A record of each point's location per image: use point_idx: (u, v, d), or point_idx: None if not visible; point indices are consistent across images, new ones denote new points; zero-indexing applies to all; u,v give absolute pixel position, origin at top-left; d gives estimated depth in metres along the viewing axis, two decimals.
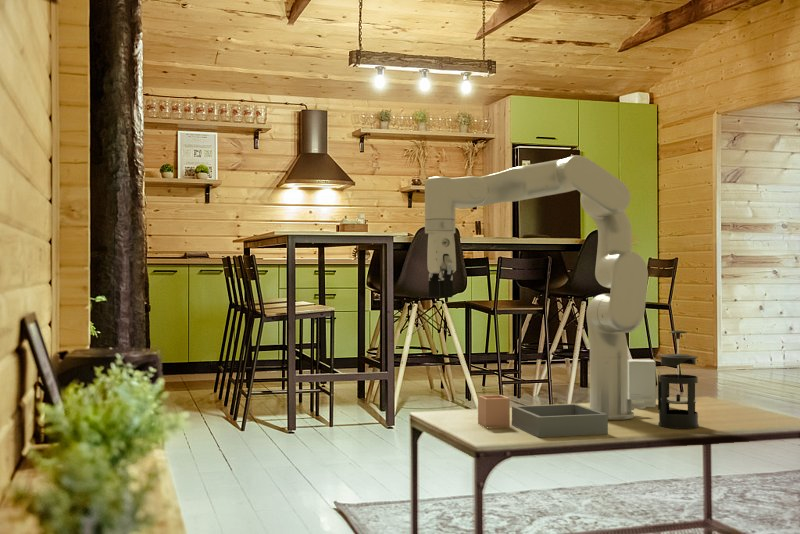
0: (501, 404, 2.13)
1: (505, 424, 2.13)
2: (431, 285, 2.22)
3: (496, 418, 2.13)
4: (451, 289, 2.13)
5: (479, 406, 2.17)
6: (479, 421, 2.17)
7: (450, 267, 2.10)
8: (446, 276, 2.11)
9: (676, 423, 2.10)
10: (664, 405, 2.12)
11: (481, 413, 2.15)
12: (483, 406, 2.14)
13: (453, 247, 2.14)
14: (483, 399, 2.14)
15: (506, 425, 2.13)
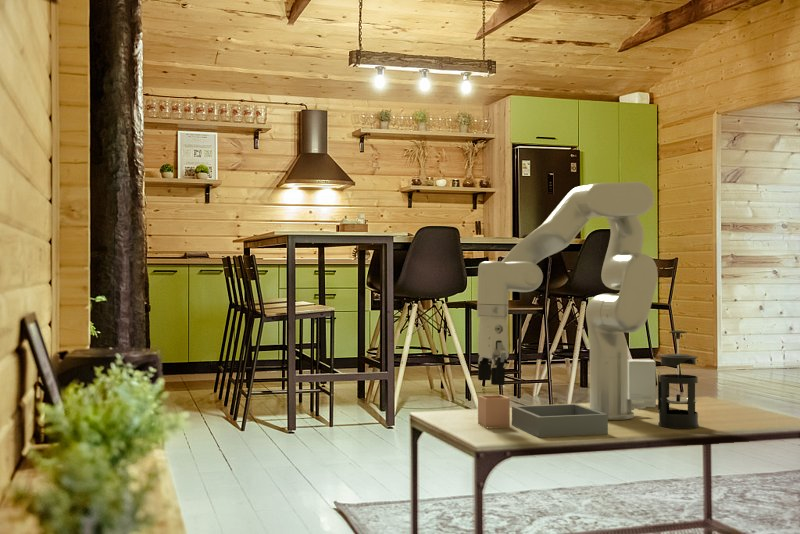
0: (501, 404, 2.13)
1: (505, 424, 2.13)
2: (481, 369, 2.20)
3: (496, 418, 2.13)
4: (503, 376, 2.11)
5: (479, 406, 2.17)
6: (479, 421, 2.17)
7: (503, 355, 2.07)
8: (499, 364, 2.09)
9: (676, 423, 2.10)
10: (664, 405, 2.12)
11: (481, 413, 2.15)
12: (483, 406, 2.14)
13: (506, 334, 2.11)
14: (483, 399, 2.14)
15: (506, 425, 2.13)
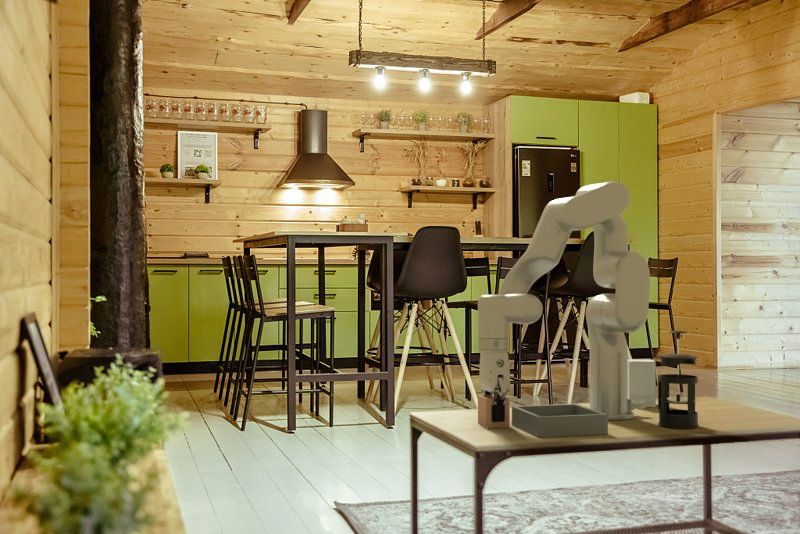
0: None
1: (505, 424, 2.13)
2: None
3: None
4: (503, 413, 2.12)
5: (478, 406, 2.17)
6: (479, 421, 2.17)
7: (504, 395, 2.09)
8: (499, 401, 2.10)
9: (676, 423, 2.10)
10: (664, 405, 2.12)
11: (481, 413, 2.15)
12: (483, 406, 2.14)
13: (507, 367, 2.11)
14: (483, 399, 2.14)
15: (506, 425, 2.13)
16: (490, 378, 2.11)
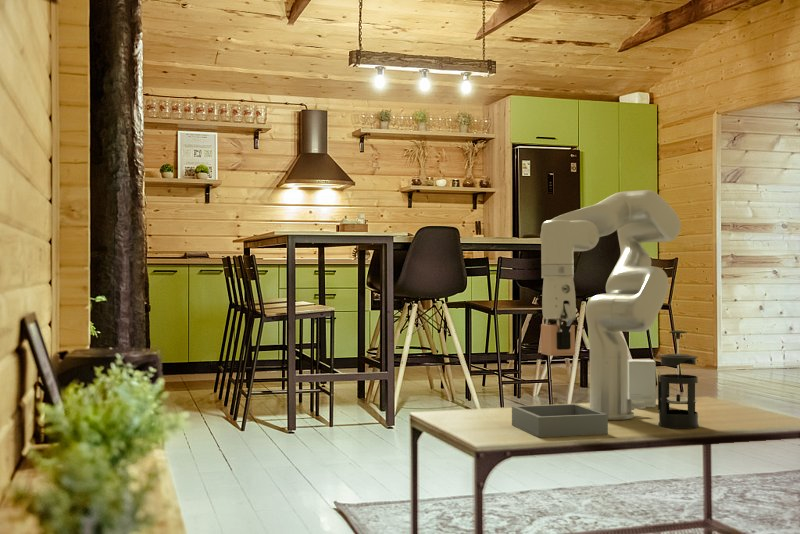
0: None
1: (570, 352, 2.08)
2: None
3: None
4: (569, 341, 2.07)
5: (542, 335, 2.12)
6: (542, 350, 2.11)
7: (570, 321, 2.03)
8: (565, 328, 2.05)
9: (676, 423, 2.10)
10: (664, 405, 2.12)
11: (545, 341, 2.10)
12: (547, 334, 2.08)
13: (573, 293, 2.06)
14: (547, 326, 2.08)
15: (571, 353, 2.08)
16: (555, 304, 2.06)
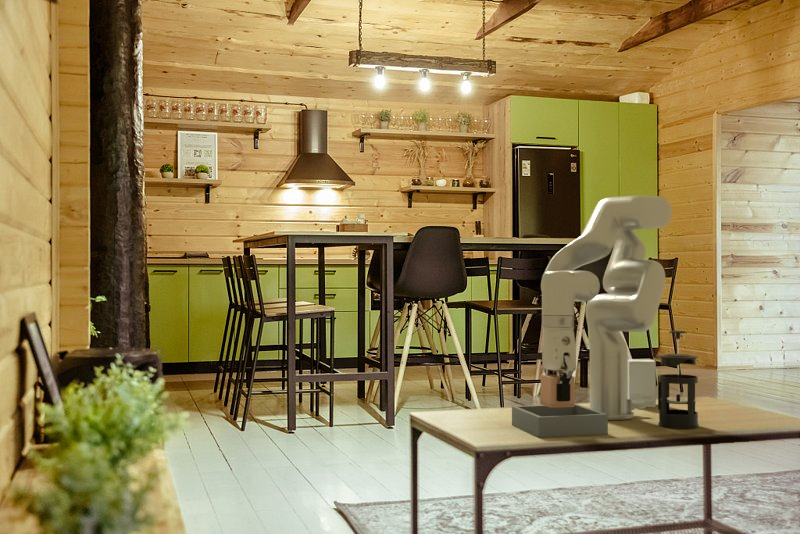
0: None
1: (570, 403, 2.07)
2: None
3: None
4: (569, 392, 2.06)
5: (541, 385, 2.11)
6: (542, 401, 2.11)
7: (570, 373, 2.03)
8: (565, 380, 2.04)
9: (676, 423, 2.10)
10: (664, 405, 2.12)
11: (544, 392, 2.09)
12: (547, 385, 2.08)
13: (573, 345, 2.06)
14: (547, 378, 2.08)
15: (571, 404, 2.07)
16: (556, 356, 2.05)
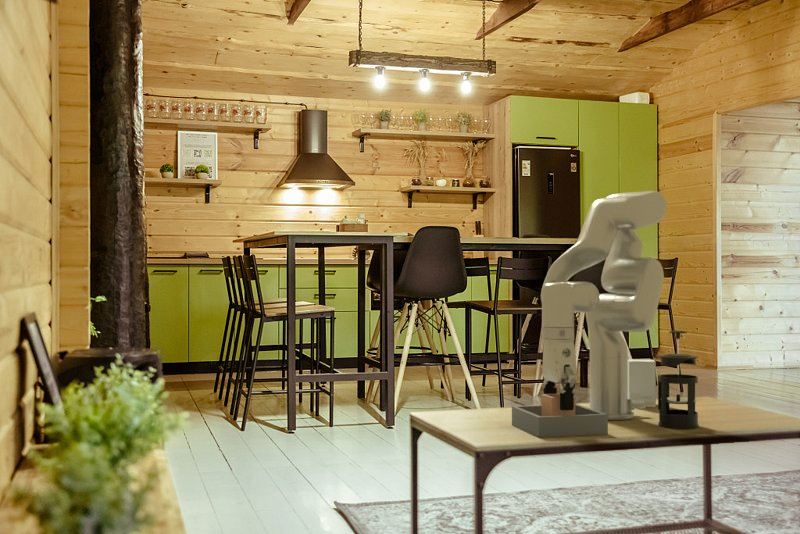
0: None
1: None
2: (546, 393, 2.14)
3: None
4: (572, 401, 2.05)
5: (542, 405, 2.11)
6: None
7: (573, 380, 2.02)
8: (568, 389, 2.03)
9: (676, 423, 2.10)
10: (664, 405, 2.12)
11: (545, 412, 2.10)
12: (548, 405, 2.08)
13: (574, 357, 2.06)
14: (548, 398, 2.08)
15: None
16: (556, 368, 2.06)
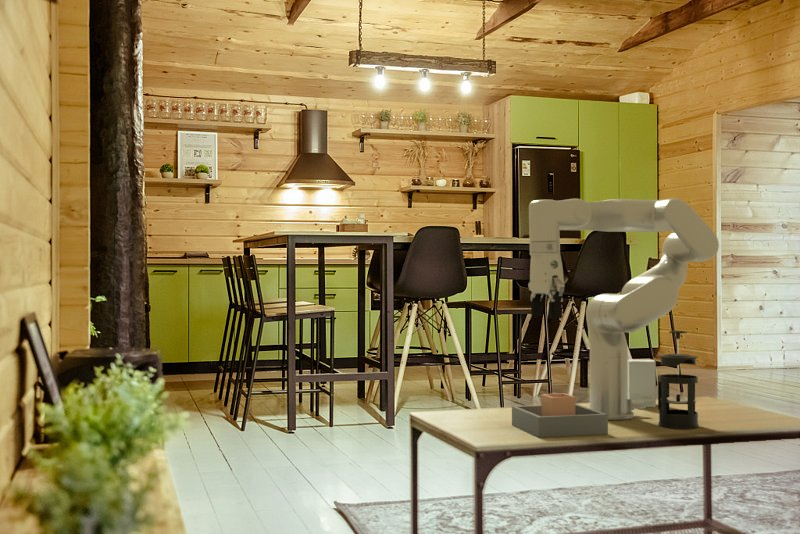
0: (567, 403, 2.07)
1: None
2: (534, 305, 2.26)
3: None
4: (560, 310, 2.18)
5: (542, 405, 2.11)
6: None
7: (562, 289, 2.14)
8: (557, 297, 2.16)
9: (676, 423, 2.10)
10: (664, 405, 2.12)
11: (545, 412, 2.10)
12: (548, 405, 2.08)
13: (561, 269, 2.18)
14: (548, 398, 2.08)
15: None
16: (545, 279, 2.18)
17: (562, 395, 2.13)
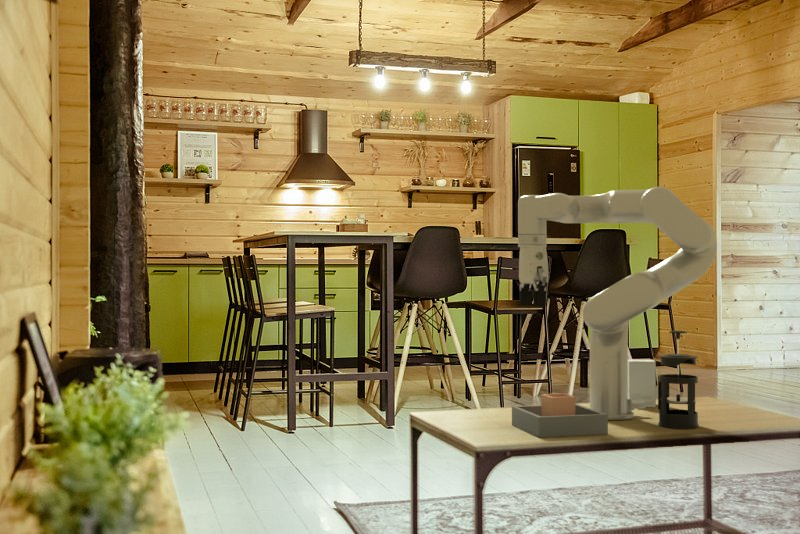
0: (567, 403, 2.07)
1: None
2: (522, 295, 2.40)
3: None
4: (544, 299, 2.32)
5: (542, 405, 2.11)
6: None
7: (545, 278, 2.28)
8: (540, 287, 2.30)
9: (676, 423, 2.10)
10: (664, 405, 2.12)
11: (545, 412, 2.10)
12: (548, 405, 2.08)
13: (546, 260, 2.32)
14: (548, 398, 2.08)
15: None
16: (530, 269, 2.32)
17: (562, 395, 2.13)
